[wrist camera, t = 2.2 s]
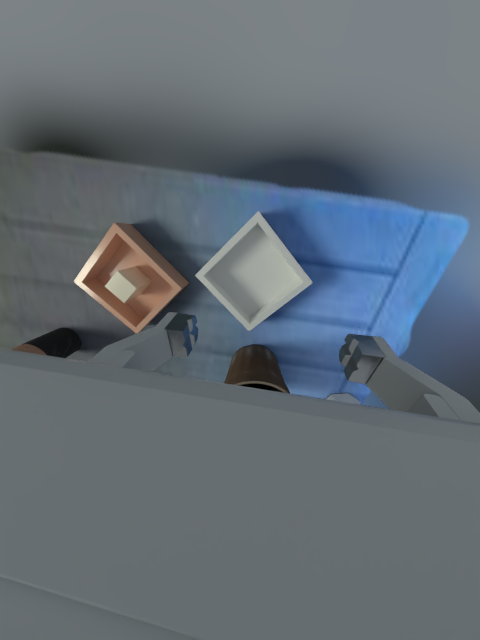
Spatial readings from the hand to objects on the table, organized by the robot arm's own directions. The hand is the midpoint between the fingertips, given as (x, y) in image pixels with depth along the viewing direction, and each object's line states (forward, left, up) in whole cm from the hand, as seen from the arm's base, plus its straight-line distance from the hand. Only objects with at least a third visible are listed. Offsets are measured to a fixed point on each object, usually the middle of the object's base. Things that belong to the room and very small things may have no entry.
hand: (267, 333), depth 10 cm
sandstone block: (-22, +15, -31) cm, 41 cm away
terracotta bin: (-22, +15, -32) cm, 41 cm away
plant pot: (-17, -19, -32) cm, 41 cm away
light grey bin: (-2, -1, -32) cm, 32 cm away
